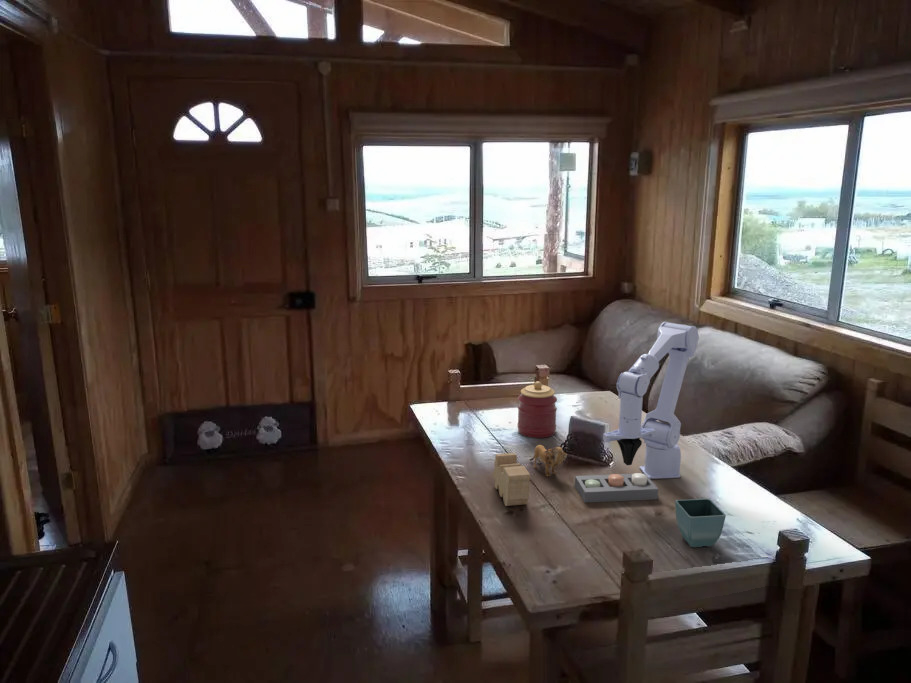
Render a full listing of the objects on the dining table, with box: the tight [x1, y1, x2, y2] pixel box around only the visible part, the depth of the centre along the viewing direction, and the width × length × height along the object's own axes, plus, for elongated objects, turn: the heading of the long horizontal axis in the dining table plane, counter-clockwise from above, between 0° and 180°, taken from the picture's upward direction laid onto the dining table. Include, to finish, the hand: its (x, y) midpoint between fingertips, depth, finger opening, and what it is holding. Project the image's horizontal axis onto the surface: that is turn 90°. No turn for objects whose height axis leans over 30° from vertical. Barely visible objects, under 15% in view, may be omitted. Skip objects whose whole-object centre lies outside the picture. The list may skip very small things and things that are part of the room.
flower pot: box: [674, 498, 727, 548], centre depth 162 cm, size 9×9×9 cm
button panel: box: [574, 472, 659, 503], centre depth 187 cm, size 20×10×3 cm, turn 95°
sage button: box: [585, 479, 600, 488], centre depth 187 cm, size 4×4×3 cm
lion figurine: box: [528, 444, 568, 477], centre depth 201 cm, size 15×5×9 cm, turn 34°
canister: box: [516, 380, 558, 439], centre depth 230 cm, size 13×13×18 cm
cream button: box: [631, 472, 647, 486], centre depth 188 cm, size 4×4×3 cm
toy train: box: [492, 452, 531, 507], centre depth 185 cm, size 6×17×10 cm, turn 11°
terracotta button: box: [608, 473, 624, 487], centre depth 187 cm, size 4×4×3 cm
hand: (627, 463), depth 186 cm, fingers closed
